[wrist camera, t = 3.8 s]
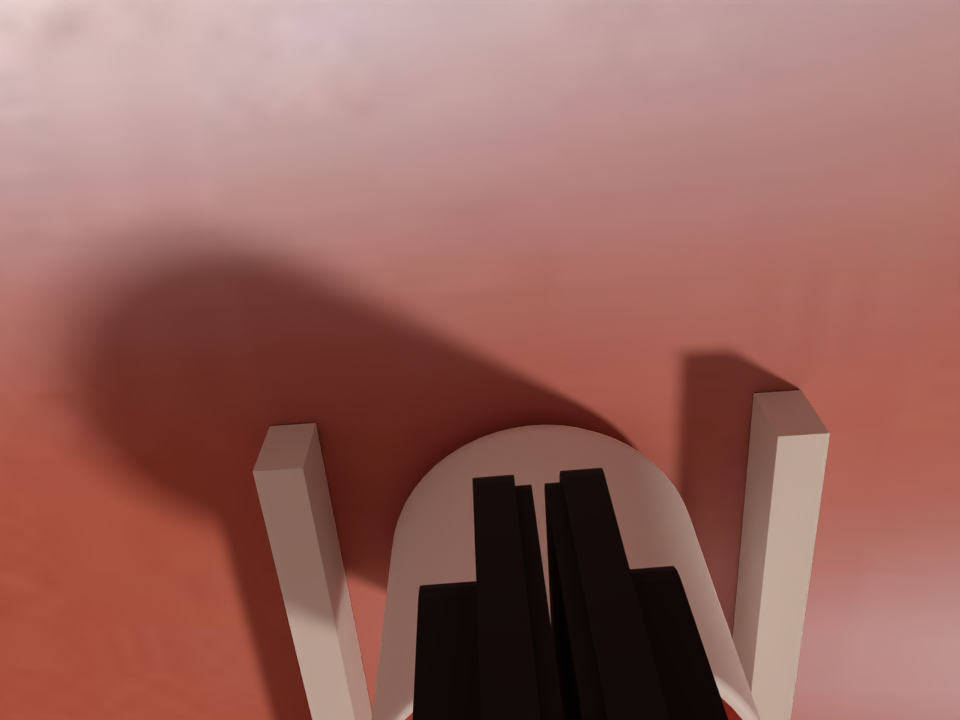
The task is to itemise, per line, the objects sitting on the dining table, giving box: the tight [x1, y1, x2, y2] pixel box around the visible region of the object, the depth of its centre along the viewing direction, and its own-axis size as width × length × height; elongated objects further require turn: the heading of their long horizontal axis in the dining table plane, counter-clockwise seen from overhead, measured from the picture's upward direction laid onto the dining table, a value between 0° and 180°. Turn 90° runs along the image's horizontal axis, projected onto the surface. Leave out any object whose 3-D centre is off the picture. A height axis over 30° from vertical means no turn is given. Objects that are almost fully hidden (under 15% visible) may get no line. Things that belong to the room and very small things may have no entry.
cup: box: [371, 425, 760, 720], centre depth 26 cm, size 10×10×10 cm
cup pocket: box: [253, 390, 830, 720], centre depth 33 cm, size 25×17×2 cm
